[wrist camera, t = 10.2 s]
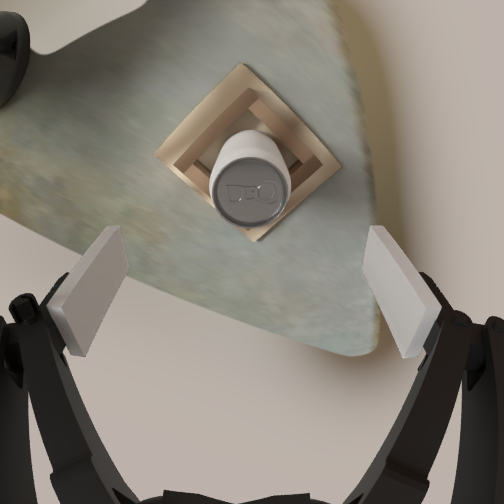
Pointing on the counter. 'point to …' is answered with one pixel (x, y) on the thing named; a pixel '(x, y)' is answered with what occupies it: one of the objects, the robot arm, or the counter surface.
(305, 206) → the counter surface
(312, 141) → the keeper board
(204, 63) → the counter surface
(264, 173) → the can
